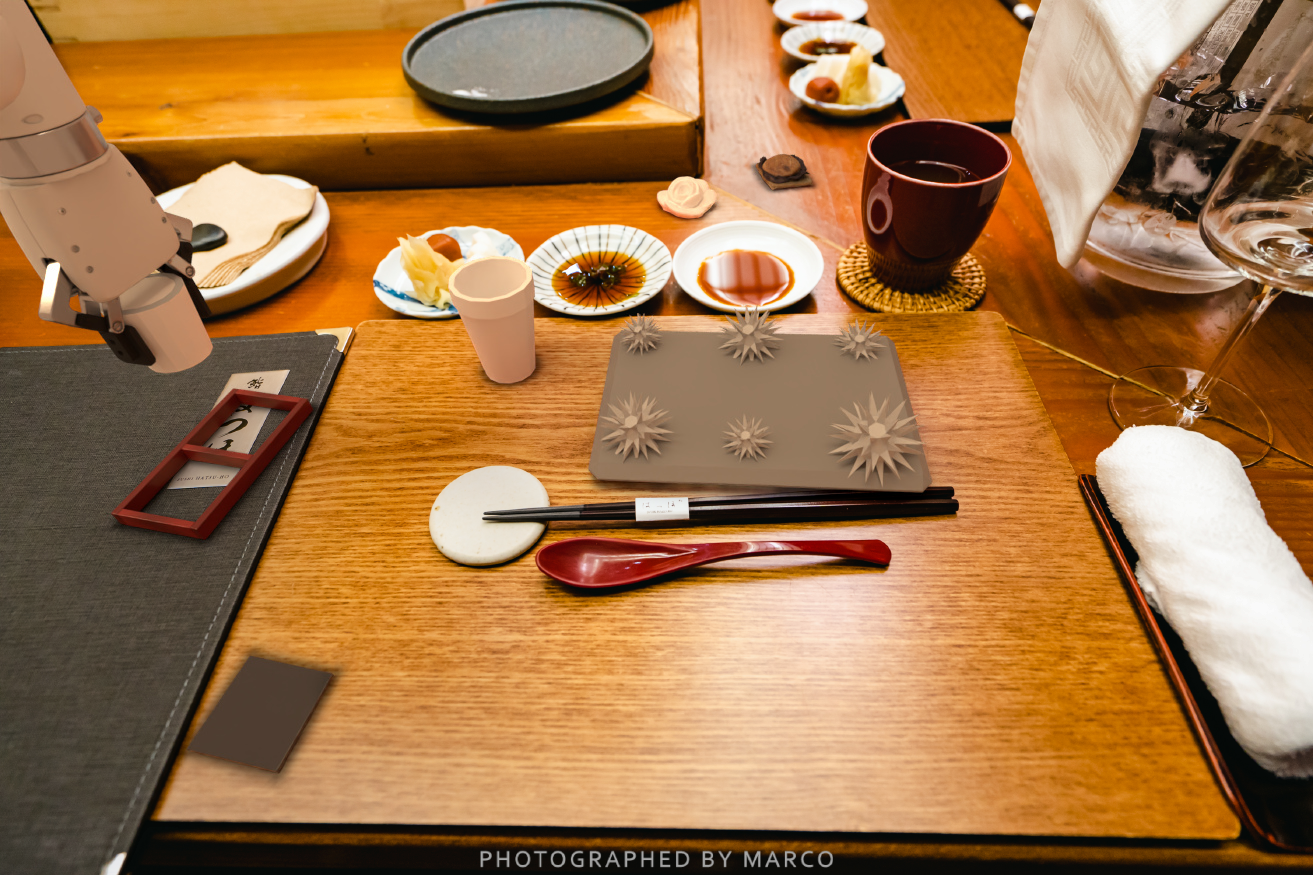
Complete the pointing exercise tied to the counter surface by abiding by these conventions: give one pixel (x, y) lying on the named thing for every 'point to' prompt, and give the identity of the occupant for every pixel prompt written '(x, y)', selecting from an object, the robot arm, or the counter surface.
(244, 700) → the slate mat
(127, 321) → the pink candle cup
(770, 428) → the decorative tray
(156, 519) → the frame
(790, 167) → the chocolate cookie
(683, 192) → the rose
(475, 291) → the foam cup
